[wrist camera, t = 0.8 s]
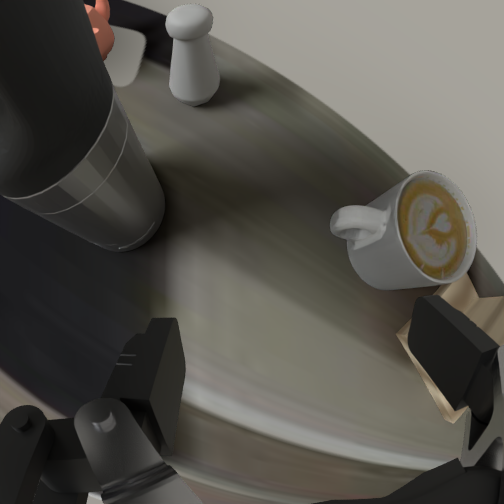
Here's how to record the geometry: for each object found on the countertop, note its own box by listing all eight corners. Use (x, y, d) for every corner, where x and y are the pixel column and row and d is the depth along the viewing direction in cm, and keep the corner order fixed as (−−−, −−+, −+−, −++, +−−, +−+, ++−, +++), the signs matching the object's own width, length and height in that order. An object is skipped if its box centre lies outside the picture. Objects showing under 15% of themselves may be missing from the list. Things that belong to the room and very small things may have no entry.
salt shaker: (225, 81, 33) (230, 0, 20) (211, 116, 32) (210, 32, 19) (181, 74, 33) (171, -5, 20) (164, 107, 32) (145, 27, 19)
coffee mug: (425, 222, 33) (479, 198, 23) (410, 301, 31) (469, 298, 21) (330, 177, 32) (368, 133, 22) (305, 262, 31) (342, 244, 21)
